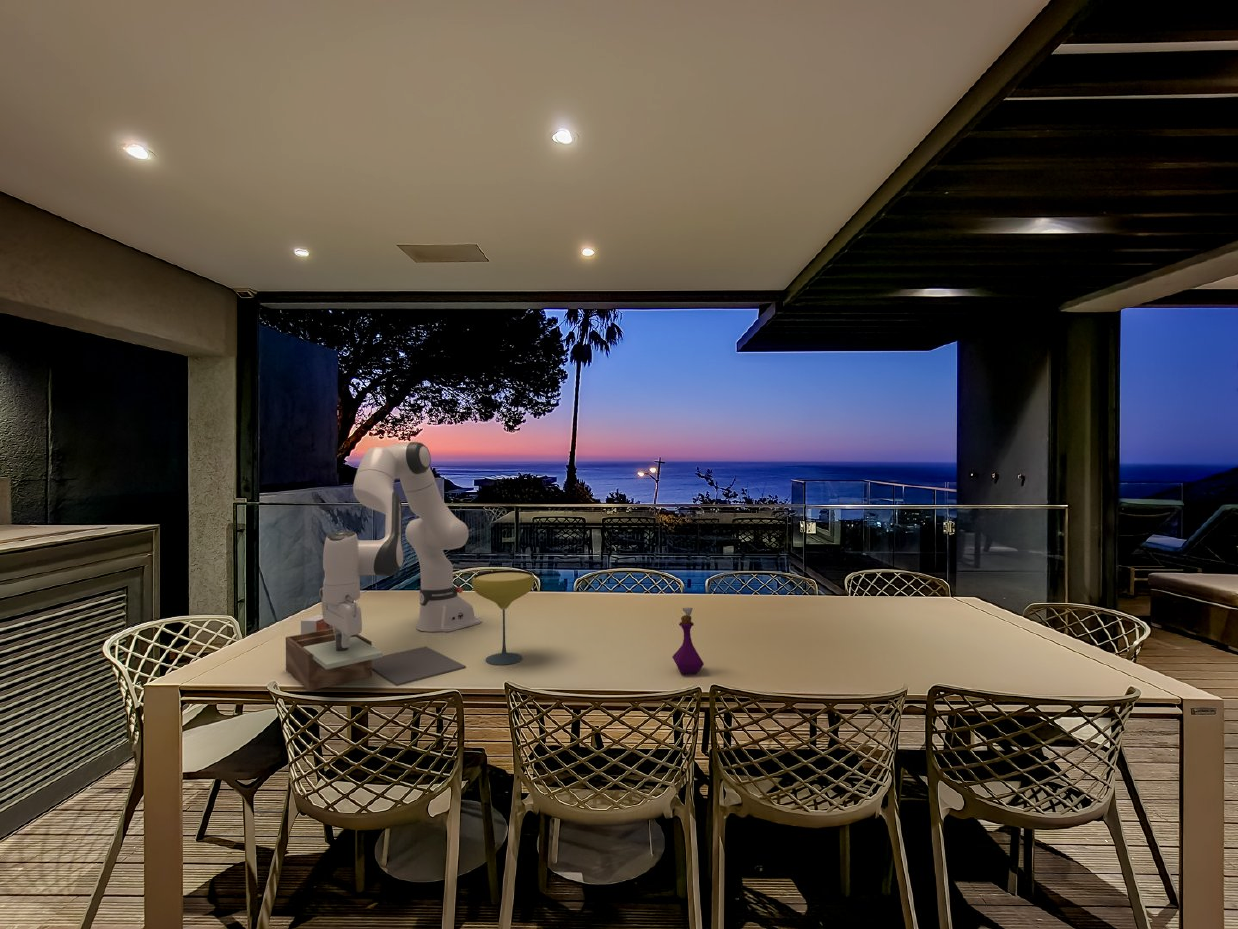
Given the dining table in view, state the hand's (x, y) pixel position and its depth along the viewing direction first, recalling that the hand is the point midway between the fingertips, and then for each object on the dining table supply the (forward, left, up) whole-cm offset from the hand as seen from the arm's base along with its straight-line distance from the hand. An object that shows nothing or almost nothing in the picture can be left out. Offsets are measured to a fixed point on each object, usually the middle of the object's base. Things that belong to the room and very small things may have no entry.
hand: (342, 645), depth 159 cm
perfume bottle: (-73, +57, -10) cm, 93 cm away
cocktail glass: (-42, +12, -10) cm, 45 cm away
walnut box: (0, -12, -10) cm, 16 cm away
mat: (-20, -2, -10) cm, 23 cm away
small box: (-4, -36, -11) cm, 38 cm away
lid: (0, 0, -2) cm, 2 cm away
